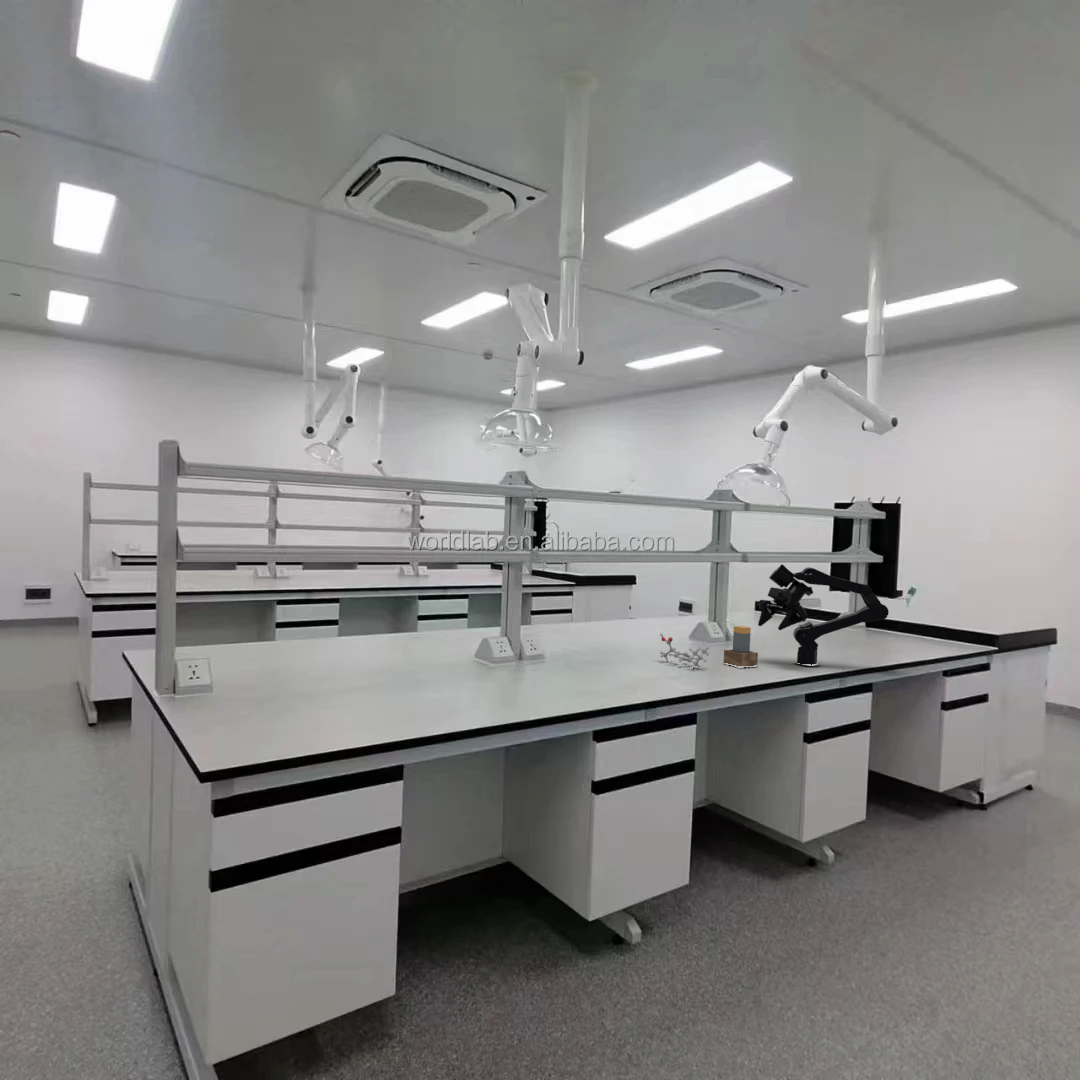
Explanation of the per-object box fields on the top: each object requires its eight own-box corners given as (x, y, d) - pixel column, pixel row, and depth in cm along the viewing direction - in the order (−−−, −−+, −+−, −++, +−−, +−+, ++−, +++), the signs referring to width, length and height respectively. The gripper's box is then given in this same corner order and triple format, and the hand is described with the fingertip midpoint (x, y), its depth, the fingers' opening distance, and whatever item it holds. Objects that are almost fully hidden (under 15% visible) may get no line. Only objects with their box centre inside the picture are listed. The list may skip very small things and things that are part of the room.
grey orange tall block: (740, 662, 241) (742, 625, 241) (748, 664, 237) (750, 627, 237) (732, 663, 239) (733, 626, 239) (740, 665, 236) (742, 627, 235)
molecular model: (715, 670, 229) (716, 641, 228) (692, 675, 224) (693, 645, 223) (675, 657, 246) (676, 630, 245) (654, 661, 240) (654, 633, 240)
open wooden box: (740, 662, 244) (741, 648, 244) (757, 667, 237) (757, 653, 237) (723, 664, 240) (724, 649, 240) (739, 668, 233) (740, 654, 233)
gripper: (762, 577, 250) (738, 608, 245) (803, 582, 234) (778, 615, 229) (777, 598, 254) (753, 629, 249) (818, 604, 237) (793, 637, 233)
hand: (768, 627), depth 240 cm, fingers open, 9 cm apart
